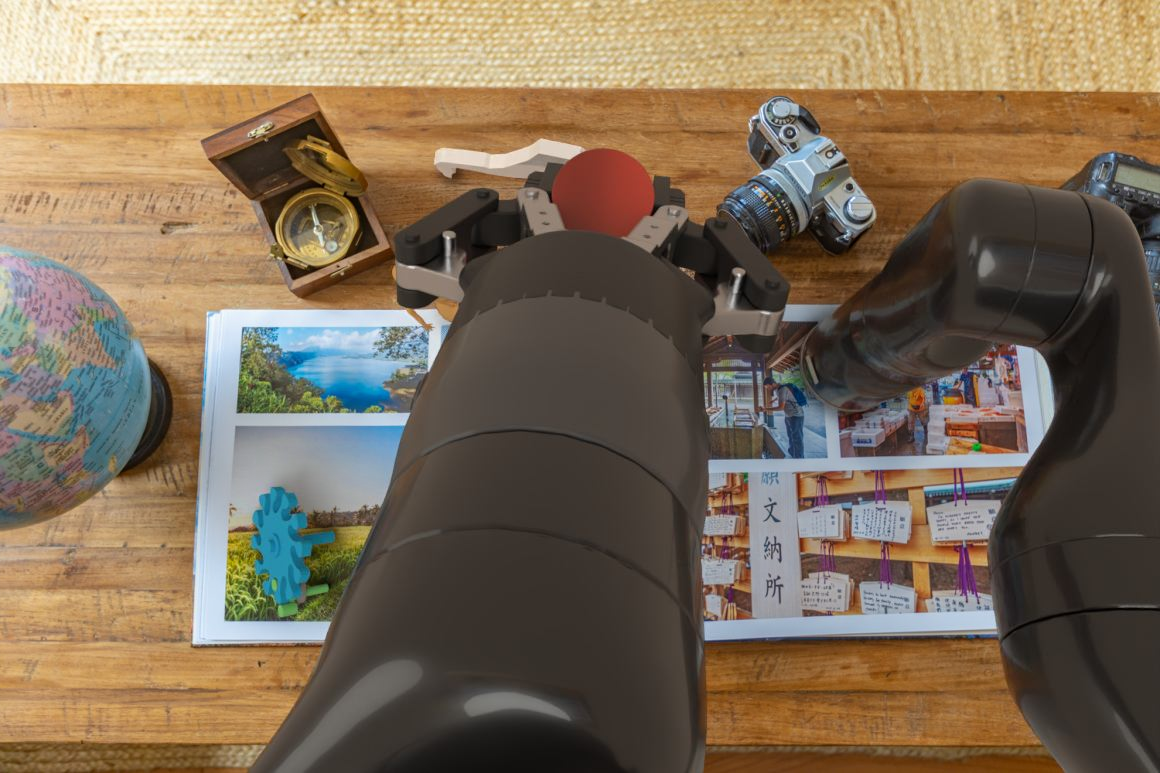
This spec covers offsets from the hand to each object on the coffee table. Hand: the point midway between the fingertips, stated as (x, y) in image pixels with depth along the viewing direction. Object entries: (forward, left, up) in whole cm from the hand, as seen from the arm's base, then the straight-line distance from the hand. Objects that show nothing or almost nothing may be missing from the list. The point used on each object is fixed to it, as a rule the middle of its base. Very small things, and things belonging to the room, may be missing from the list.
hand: (607, 191), depth 35 cm
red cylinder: (0, +2, -4) cm, 4 cm away
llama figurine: (+6, -19, -41) cm, 45 cm away
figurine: (+14, -6, -41) cm, 43 cm away
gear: (+27, +17, -41) cm, 52 cm away
